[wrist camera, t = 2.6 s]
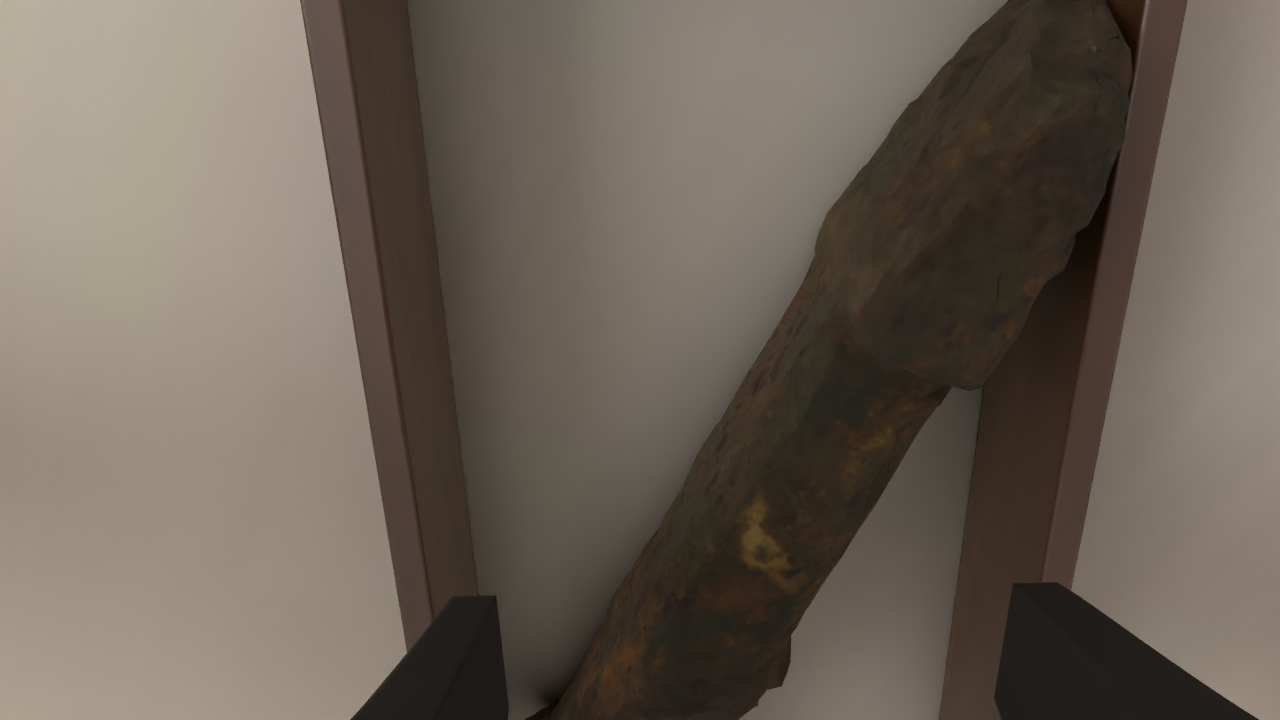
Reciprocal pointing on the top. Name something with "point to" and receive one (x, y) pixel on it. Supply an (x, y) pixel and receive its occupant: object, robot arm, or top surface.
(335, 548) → the top surface
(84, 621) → the top surface
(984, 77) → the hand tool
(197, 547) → the top surface
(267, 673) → the top surface
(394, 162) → the storage box
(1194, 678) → the robot arm
